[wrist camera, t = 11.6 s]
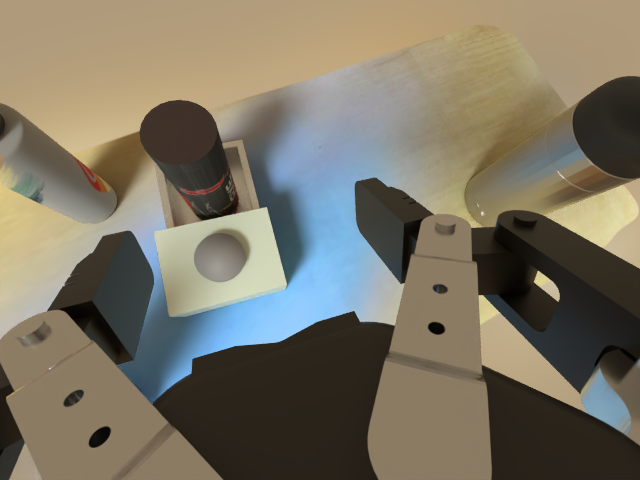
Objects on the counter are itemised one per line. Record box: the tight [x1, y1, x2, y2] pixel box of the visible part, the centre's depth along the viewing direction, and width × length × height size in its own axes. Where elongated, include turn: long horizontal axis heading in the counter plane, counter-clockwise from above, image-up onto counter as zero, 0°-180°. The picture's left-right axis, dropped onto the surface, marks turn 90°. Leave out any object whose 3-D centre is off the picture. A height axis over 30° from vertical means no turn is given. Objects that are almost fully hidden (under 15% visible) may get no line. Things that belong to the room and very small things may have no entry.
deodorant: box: [140, 100, 239, 221], centre depth 32 cm, size 6×6×15 cm
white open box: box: [154, 140, 260, 229], centre depth 38 cm, size 11×10×4 cm
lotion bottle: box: [0, 103, 117, 224], centre depth 28 cm, size 6×6×20 cm
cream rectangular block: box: [154, 207, 287, 317], centre depth 35 cm, size 12×9×7 cm
